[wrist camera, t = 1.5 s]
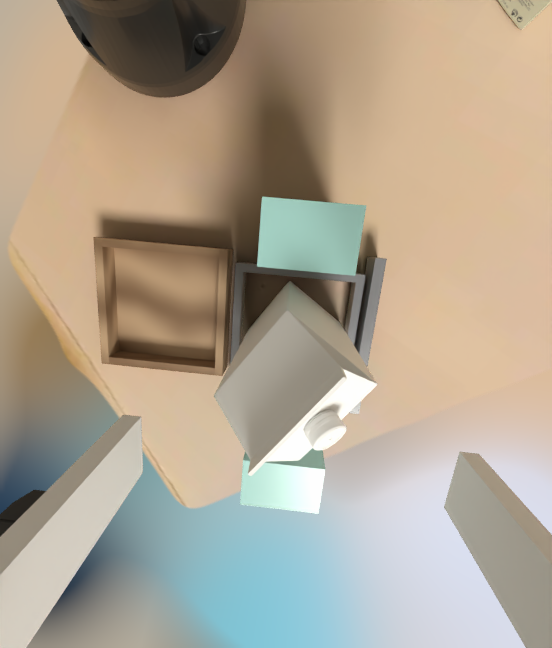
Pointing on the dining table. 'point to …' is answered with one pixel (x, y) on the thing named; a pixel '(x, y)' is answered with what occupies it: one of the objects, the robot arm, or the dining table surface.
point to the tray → (163, 305)
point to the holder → (340, 265)
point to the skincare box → (523, 10)
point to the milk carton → (292, 381)
